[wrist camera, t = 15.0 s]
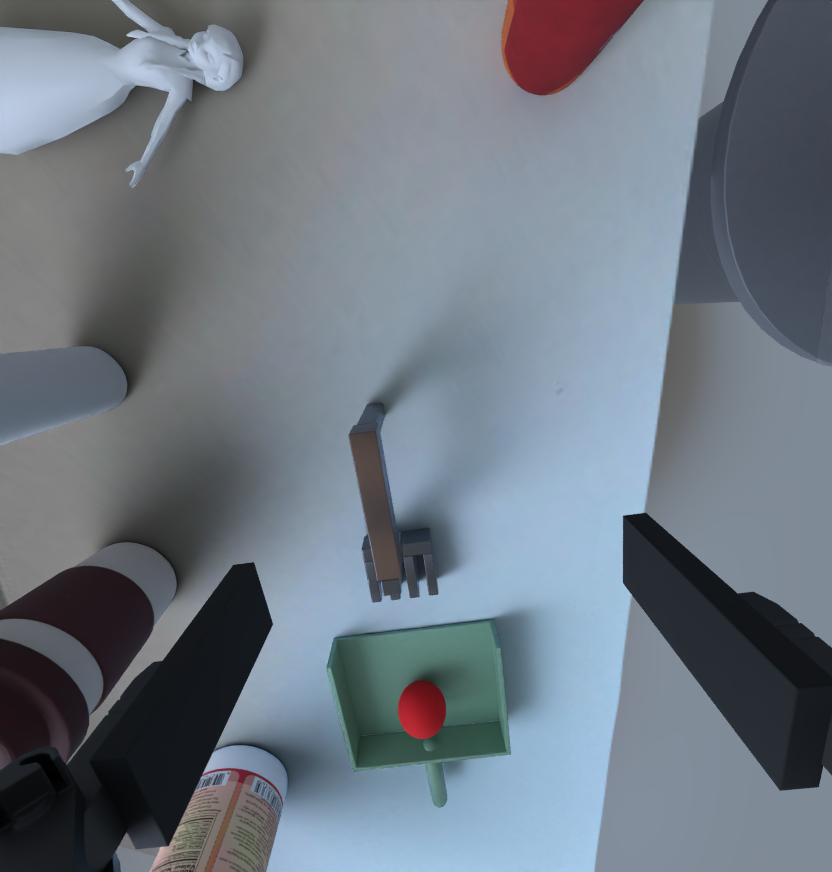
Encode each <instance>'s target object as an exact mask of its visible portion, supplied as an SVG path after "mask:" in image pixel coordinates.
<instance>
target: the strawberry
mask: <svg viewBox="0 0 832 872" xmlns="http://www.w3.org/2000/svg"><path fill="white" fill-rule="evenodd" d="M398 716H399V720H400V723H401V725H402V727H403V728H404V730H405V731H406V732H407V733H408V734H409V735H411V736H413V737H415V738H418V739H427V738H430V737H432V736H434V735H435V734H436V733H437V732H438V731H439V730H440V729H441V728H442V726H443V724H444V721H445V718H446V702H445V698H444V696H443V694H442V692H441V691H440V689H439V688H438V687H437V686H436V685H435V684H433V683H431V682H429V681H425V680H418V681H415V682H413V683H411V684H409V685H408V686H407V687H406V688H405V689H404V691H403V692H402V694H401V696H400V699H399V703H398Z"/></svg>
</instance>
